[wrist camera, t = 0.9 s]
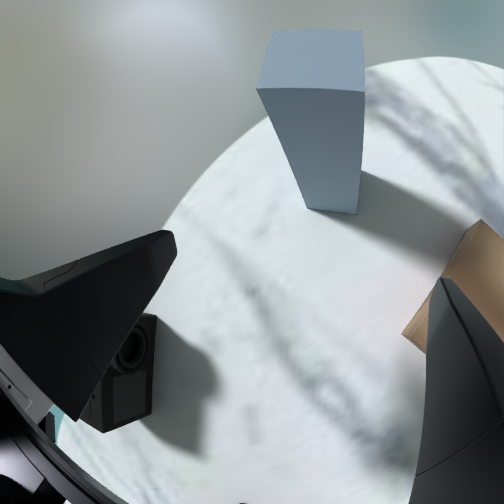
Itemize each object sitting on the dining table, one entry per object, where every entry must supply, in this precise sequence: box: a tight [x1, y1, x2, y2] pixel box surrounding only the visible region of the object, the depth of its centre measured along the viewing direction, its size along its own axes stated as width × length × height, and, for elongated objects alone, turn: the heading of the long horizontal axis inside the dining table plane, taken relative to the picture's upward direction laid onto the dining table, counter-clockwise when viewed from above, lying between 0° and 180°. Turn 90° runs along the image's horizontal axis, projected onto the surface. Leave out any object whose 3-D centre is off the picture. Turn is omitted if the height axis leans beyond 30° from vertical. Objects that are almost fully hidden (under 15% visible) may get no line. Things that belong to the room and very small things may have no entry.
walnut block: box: [401, 219, 504, 354], centre depth 15 cm, size 10×10×3 cm
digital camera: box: [79, 313, 157, 433], centre depth 21 cm, size 10×5×7 cm, turn 174°
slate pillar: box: [256, 29, 365, 215], centre depth 16 cm, size 4×4×14 cm
